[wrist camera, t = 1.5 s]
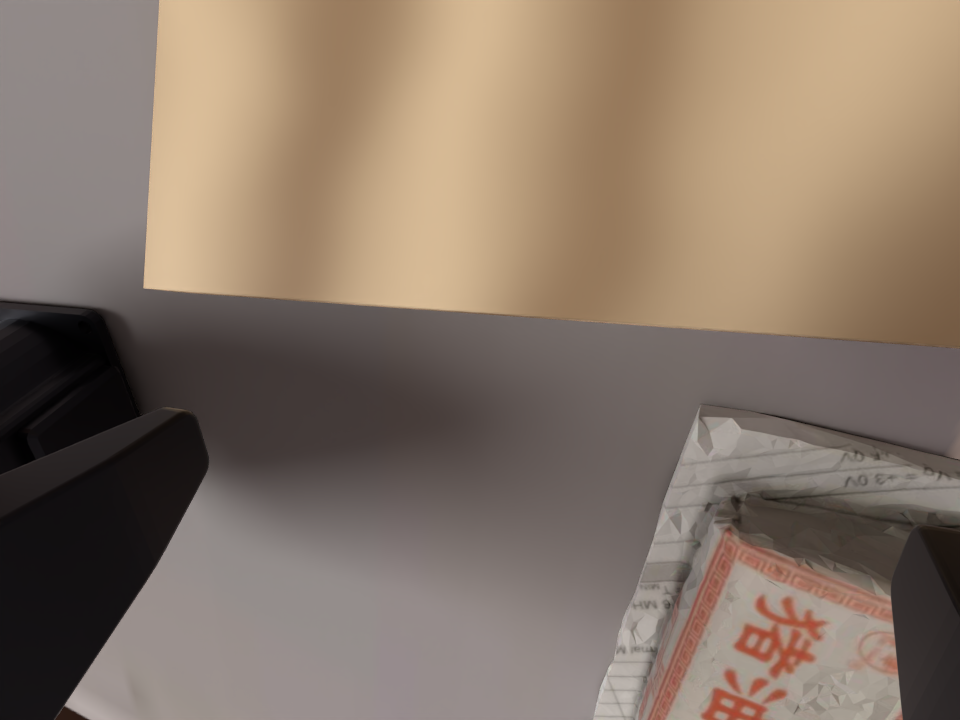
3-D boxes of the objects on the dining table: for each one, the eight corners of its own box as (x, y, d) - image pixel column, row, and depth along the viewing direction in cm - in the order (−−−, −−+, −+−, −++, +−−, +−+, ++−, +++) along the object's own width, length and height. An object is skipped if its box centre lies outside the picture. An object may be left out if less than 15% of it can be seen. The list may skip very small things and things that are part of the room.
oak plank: (184, 292, 18) (143, 288, 17) (201, 7, 18) (160, -23, 16) (1097, 358, 13) (1152, 360, 12) (1142, -27, 13) (1203, -74, 12)
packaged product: (842, 923, 26) (571, 836, 27) (822, 787, 29) (586, 717, 31) (1156, 611, 15) (697, 499, 17) (1061, 468, 19) (696, 388, 21)
